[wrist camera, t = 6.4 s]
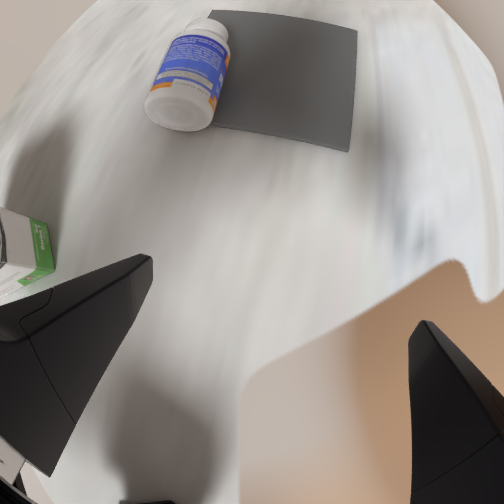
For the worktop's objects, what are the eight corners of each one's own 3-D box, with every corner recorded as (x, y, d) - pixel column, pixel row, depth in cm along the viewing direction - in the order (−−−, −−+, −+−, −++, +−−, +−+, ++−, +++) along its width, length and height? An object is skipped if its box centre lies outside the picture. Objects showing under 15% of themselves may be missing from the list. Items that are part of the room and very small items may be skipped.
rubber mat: (347, 152, 23) (349, 149, 22) (159, 120, 24) (157, 117, 23) (356, 33, 25) (357, 30, 24) (212, 12, 26) (212, 9, 25)
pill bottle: (225, 117, 20) (250, 32, 21) (157, 85, 16) (198, 2, 18) (190, 140, 24) (216, 59, 25) (132, 117, 21) (169, 36, 22)
